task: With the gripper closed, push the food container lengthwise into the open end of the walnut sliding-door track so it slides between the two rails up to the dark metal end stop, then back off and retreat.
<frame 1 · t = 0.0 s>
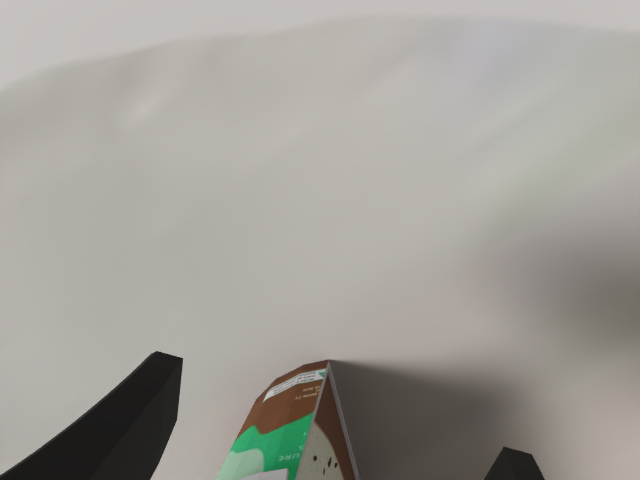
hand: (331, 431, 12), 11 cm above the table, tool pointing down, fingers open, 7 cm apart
food container: (288, 448, 26), on the table
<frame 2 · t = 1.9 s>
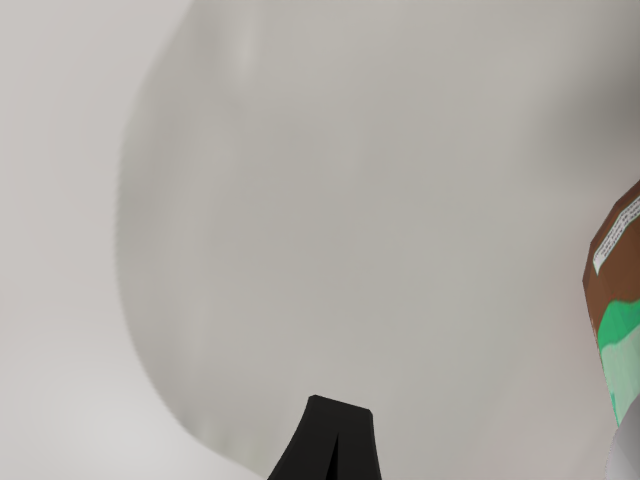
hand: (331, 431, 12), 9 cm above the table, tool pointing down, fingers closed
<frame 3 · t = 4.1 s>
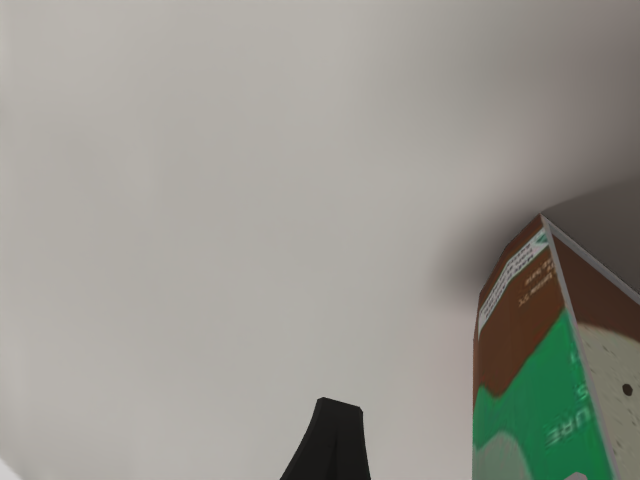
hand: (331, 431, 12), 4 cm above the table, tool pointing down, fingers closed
food container: (571, 380, 16), on the table, touching gripper
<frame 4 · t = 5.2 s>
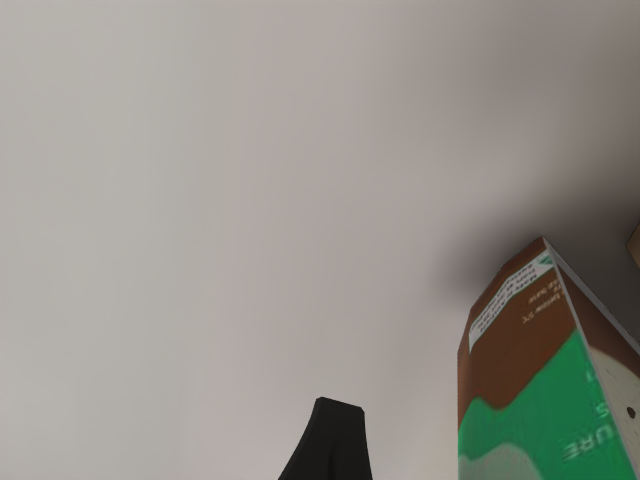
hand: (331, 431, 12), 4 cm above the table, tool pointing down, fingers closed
food container: (543, 401, 16), on the table, touching gripper
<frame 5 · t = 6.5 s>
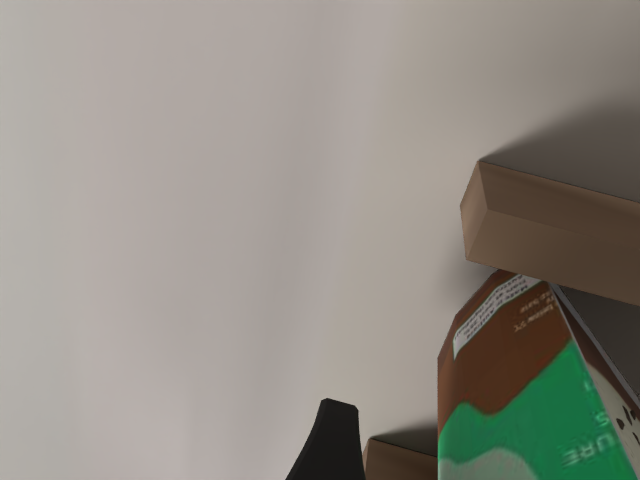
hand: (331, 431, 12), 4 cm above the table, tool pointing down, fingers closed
food container: (515, 411, 16), on the table, touching gripper
bottom track: (633, 401, 16), on the table
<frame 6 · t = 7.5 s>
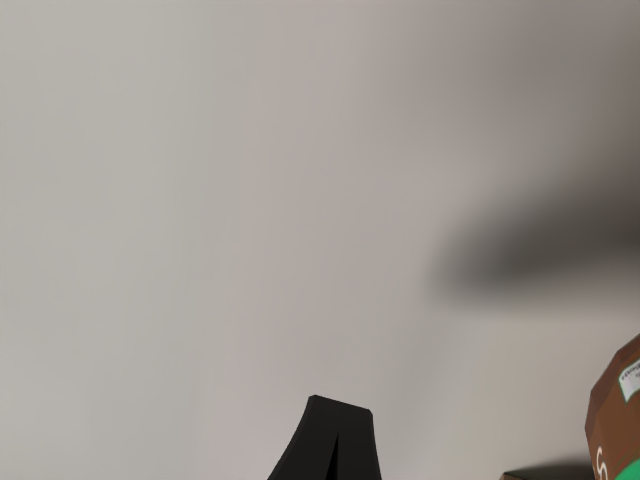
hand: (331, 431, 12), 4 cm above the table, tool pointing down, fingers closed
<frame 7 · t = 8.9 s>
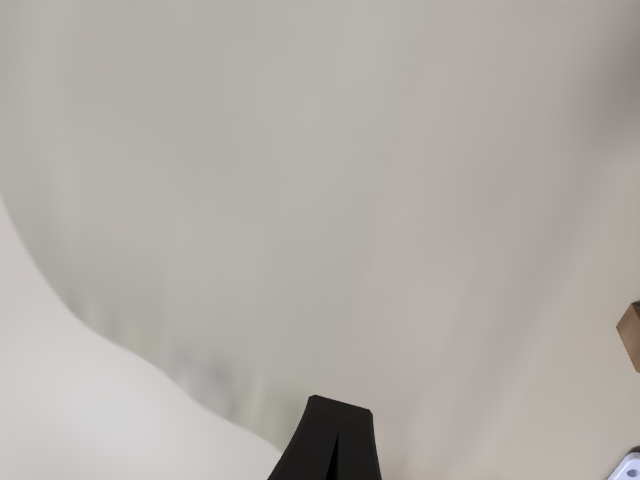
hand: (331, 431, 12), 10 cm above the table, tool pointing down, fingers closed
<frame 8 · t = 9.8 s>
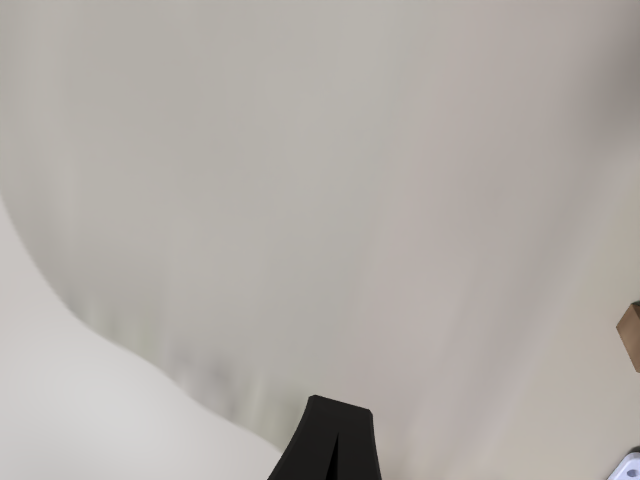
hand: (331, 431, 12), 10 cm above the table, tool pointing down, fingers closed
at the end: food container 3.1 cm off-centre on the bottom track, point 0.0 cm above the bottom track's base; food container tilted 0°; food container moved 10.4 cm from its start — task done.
